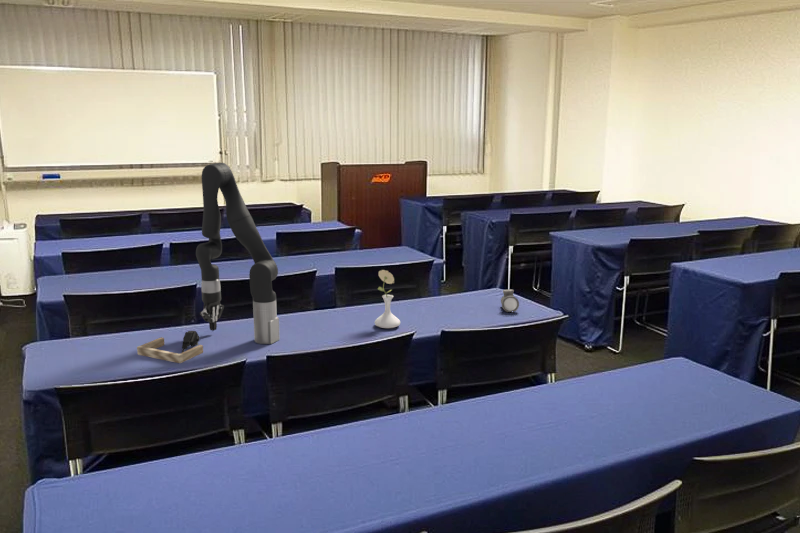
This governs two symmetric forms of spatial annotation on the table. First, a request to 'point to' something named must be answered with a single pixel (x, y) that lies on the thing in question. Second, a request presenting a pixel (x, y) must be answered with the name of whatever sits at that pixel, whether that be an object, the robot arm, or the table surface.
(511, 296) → the pipe fitting
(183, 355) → the bracket
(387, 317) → the flower in vase
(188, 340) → the power plug
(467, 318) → the table surface
